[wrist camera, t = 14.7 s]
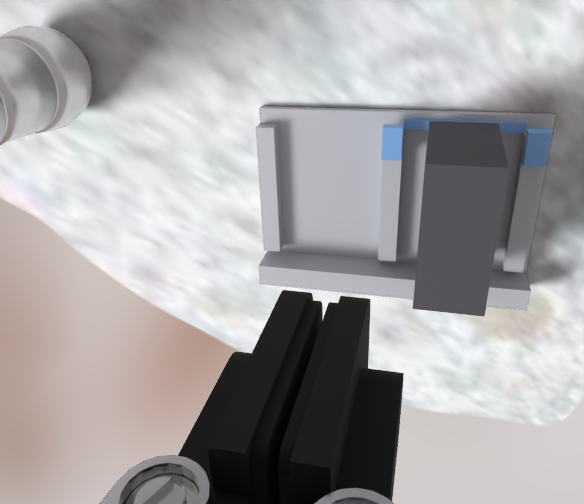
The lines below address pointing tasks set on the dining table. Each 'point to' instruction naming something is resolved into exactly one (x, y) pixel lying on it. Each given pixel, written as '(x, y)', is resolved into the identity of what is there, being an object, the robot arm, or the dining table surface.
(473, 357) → the dining table surface
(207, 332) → the dining table surface
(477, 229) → the dark gray block
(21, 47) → the plastic bottle
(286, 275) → the grey tray
